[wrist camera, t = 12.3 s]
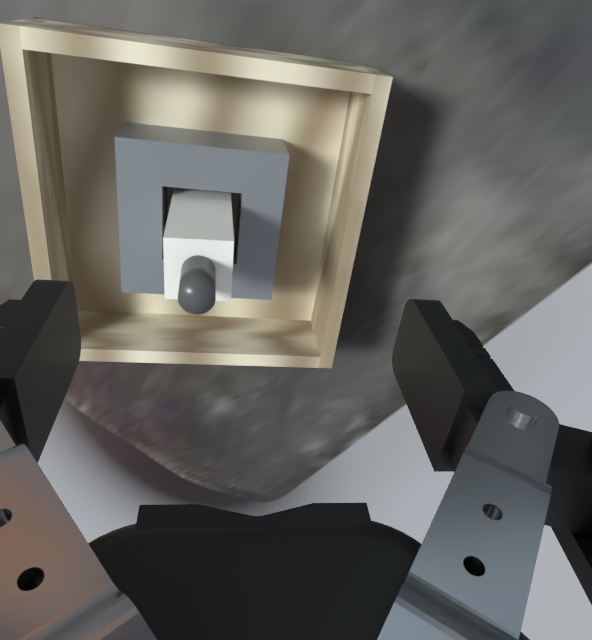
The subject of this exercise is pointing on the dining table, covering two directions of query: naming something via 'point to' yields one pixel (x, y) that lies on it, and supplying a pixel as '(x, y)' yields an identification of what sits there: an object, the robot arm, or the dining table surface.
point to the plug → (198, 249)
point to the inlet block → (203, 174)
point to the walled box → (101, 187)
